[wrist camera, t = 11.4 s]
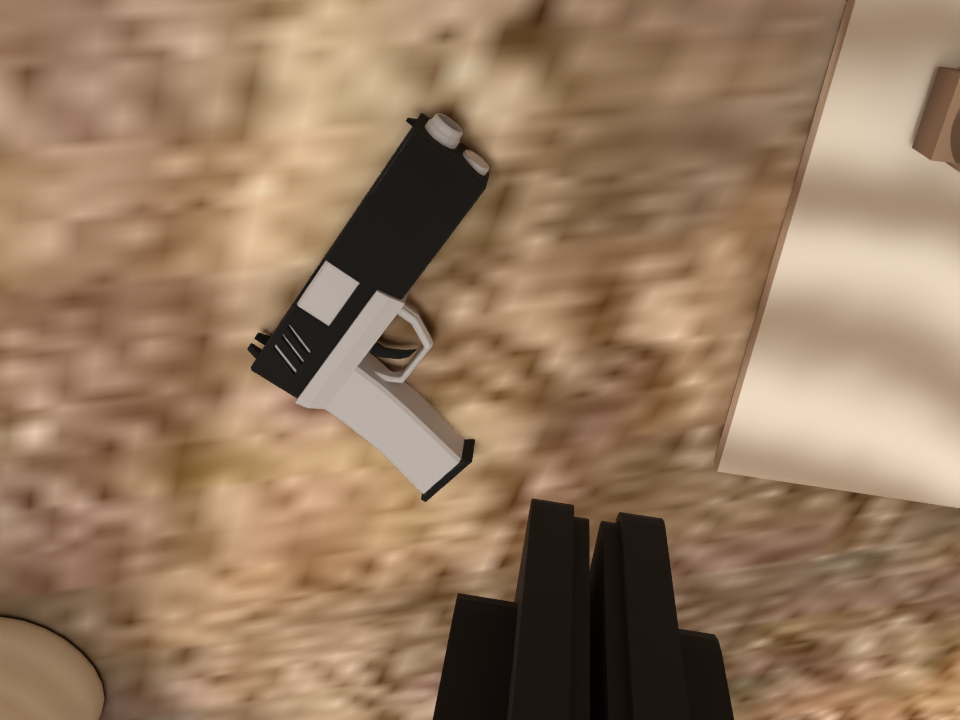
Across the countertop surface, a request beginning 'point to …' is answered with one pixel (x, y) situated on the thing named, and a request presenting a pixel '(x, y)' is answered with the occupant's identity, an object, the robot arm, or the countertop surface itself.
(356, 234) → the toy gun
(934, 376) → the hinge board
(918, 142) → the walnut link
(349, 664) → the countertop surface
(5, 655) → the lamp
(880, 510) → the countertop surface
